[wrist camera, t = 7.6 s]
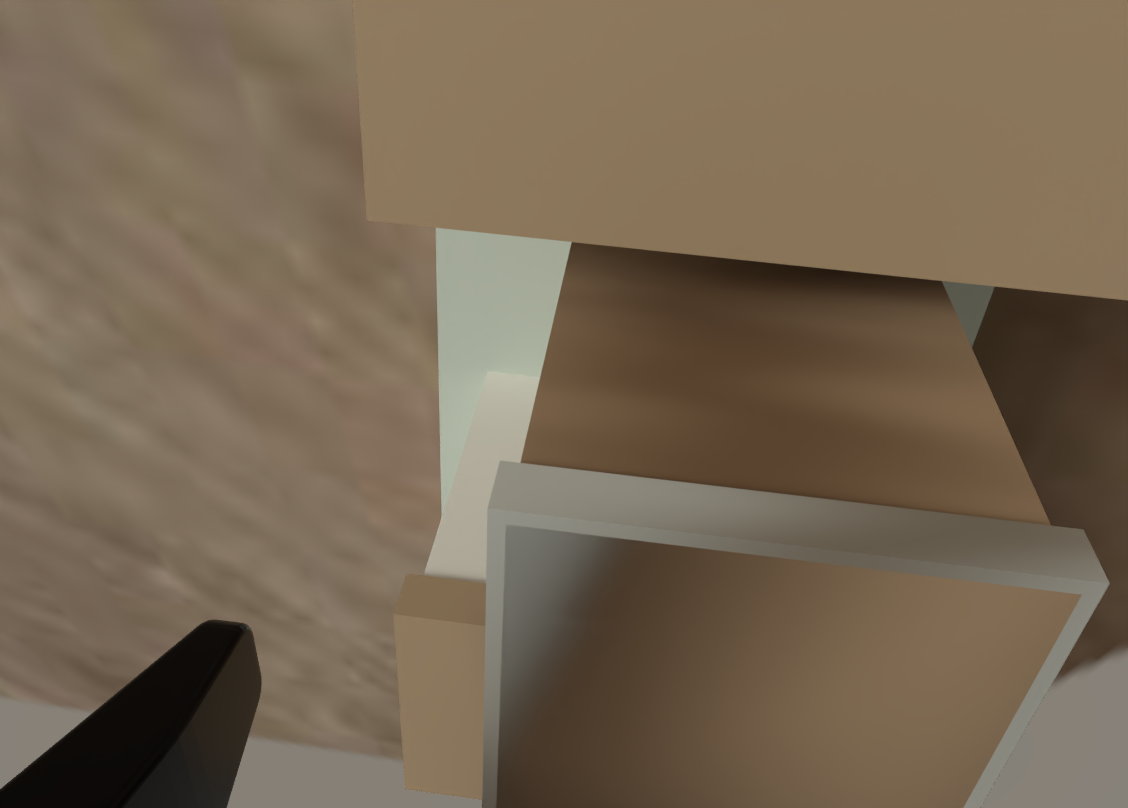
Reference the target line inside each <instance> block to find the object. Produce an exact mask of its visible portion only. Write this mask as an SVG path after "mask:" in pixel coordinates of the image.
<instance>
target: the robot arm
mask: <svg viewBox="0 0 1128 808" xmlns="http://www.w3.org/2000/svg"><path fill="white" fill-rule="evenodd" d="M260 693H261V672H260V667H259V662H258V657H257V652H256V647H255V642H254V637H253V633H252V630H251V629H250V627H249V626H248V625H247V624H244V623H238V622H230V621H222V620H208V621H206V622H204V623H202V624H200V625H199V626H197V627H196V628H195V629H194V630H193V631H191V632H190V633H189V634H188V635H187V636H185V637H184V638H183V639H182V640H181V641H179V642H178V643H177V644H176V645H174V646H173V647H172V648H171V649H170V650H168V651H167V652H166V653H165V654H164V655H162V656H161V657H160V658H159V659H157V660H156V661H155V662H154V663H153V664H151V665H150V666H149V667H148V668H147V669H145V670H144V671H143V672H142V673H141V674H139V675H138V676H137V677H136V678H134V679H133V680H132V681H131V682H130V683H128V684H127V685H126V686H125V687H124V688H122V689H121V690H120V691H119V692H117V693H116V694H115V695H114V696H113V697H111V698H110V699H109V700H108V701H107V702H105V703H104V704H103V705H102V706H101V707H99V708H98V709H97V710H96V711H94V712H93V713H92V714H91V715H90V716H88V717H87V718H86V719H85V720H84V721H82V722H81V723H80V724H79V725H78V726H76V727H75V728H74V729H73V730H71V731H70V732H69V733H68V734H67V735H65V736H64V737H63V738H62V739H61V740H59V741H58V742H57V743H56V744H54V745H53V746H52V747H51V748H50V749H49V750H47V751H46V752H45V753H44V754H42V755H41V756H40V757H39V758H38V759H36V760H35V761H34V762H33V763H31V764H30V765H29V766H28V767H27V768H25V769H24V770H23V771H22V772H21V773H19V774H18V775H17V776H16V777H14V778H13V779H12V780H11V781H10V782H8V783H7V784H6V785H5V786H4V787H3V788H1V789H0V808H227V805H228V801H229V798H230V795H231V791H232V788H233V785H234V781H235V778H236V775H237V771H238V768H239V765H240V761H241V758H242V755H243V752H244V748H245V745H246V742H247V739H248V735H249V732H250V729H251V725H252V722H253V719H254V715H255V712H256V709H257V706H258V702H259V698H260Z"/></svg>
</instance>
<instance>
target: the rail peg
mask: <svg viewBox="0 0 1128 808" xmlns="http://www.w3.org/2000/svg"><path fill="white" fill-rule="evenodd" d="M1109 584H1110V583H1109V581H1108V579H1107V577H1106V575H1105V573H1104V571H1103V569H1102V566H1101V564H1100V562H1099V560H1098V558H1097V556H1096V554H1095V552H1094V550H1093V548H1092V546H1091V544H1090V542H1089V540H1088V538H1087V536H1086V534H1085V531H1084V529H1075V528H1067V527H1059V526H1051V524H1050V522H1049V519H1048V517H1047V515H1046V513H1045V511H1044V508H1043V506H1042V504H1041V502H1040V499H1039V497H1038V495H1037V493H1036V490H1035V488H1034V486H1033V484H1032V481H1031V479H1030V477H1029V475H1028V473H1027V470H1026V468H1025V466H1024V464H1023V461H1022V459H1021V457H1020V455H1019V452H1018V450H1017V448H1016V446H1015V443H1014V441H1013V439H1012V437H1011V435H1010V432H1009V430H1008V428H1007V426H1006V423H1005V421H1004V419H1003V417H1002V414H1001V412H1000V410H999V408H998V406H997V403H996V401H995V399H994V397H993V394H992V392H991V390H990V388H989V385H988V383H987V381H986V379H985V376H984V374H983V372H982V370H981V368H980V365H979V363H978V361H977V359H976V356H975V354H974V352H973V350H972V347H971V345H970V343H969V341H968V338H967V336H966V334H965V332H964V330H963V327H962V325H961V323H960V321H959V318H958V316H957V314H956V312H955V309H954V307H953V305H952V303H951V300H950V298H949V296H948V294H947V292H946V289H945V287H944V285H943V283H942V281H938V280H928V279H919V278H909V277H900V276H890V275H881V274H871V273H862V272H852V271H843V270H833V269H824V268H814V267H805V266H795V265H786V264H776V263H767V262H757V261H748V260H738V259H729V258H719V257H710V256H700V255H690V254H681V253H671V252H662V251H652V250H643V249H633V248H624V247H614V246H605V245H595V244H586V243H576V242H572V243H571V247H570V251H569V256H568V260H567V264H566V268H565V273H564V277H563V281H562V286H561V290H560V294H559V298H558V303H557V307H556V311H555V316H554V320H553V324H552V329H551V333H550V337H549V341H548V346H547V350H546V354H545V359H544V363H543V367H542V371H541V376H540V380H539V384H538V389H537V393H536V397H535V402H534V406H533V410H532V414H531V419H530V423H529V427H528V432H527V436H526V440H525V444H524V449H523V453H522V457H521V462H520V463H517V462H509V461H500V462H499V466H498V470H497V474H496V478H495V482H494V485H493V489H492V493H491V497H490V501H489V505H488V511H487V566H486V621H485V676H484V731H483V786H482V808H981V806H982V804H983V803H984V801H985V799H986V797H987V796H988V794H989V792H990V790H991V789H992V787H993V785H994V784H995V782H996V780H997V778H998V777H999V775H1000V773H1001V771H1002V770H1003V768H1004V766H1005V764H1006V763H1007V761H1008V759H1009V757H1010V756H1011V754H1012V752H1013V751H1014V749H1015V747H1016V745H1017V743H1018V742H1019V740H1020V738H1021V737H1022V735H1023V733H1024V731H1025V730H1026V728H1027V726H1028V725H1029V723H1030V721H1031V719H1032V717H1033V716H1034V714H1035V712H1036V711H1037V709H1038V707H1039V706H1040V704H1041V702H1042V700H1043V699H1044V697H1045V695H1046V693H1047V692H1048V690H1049V688H1050V686H1051V685H1052V683H1053V681H1054V680H1055V678H1056V676H1057V674H1058V673H1059V671H1060V669H1061V667H1062V666H1063V664H1064V662H1065V660H1066V659H1067V657H1068V655H1069V653H1070V652H1071V650H1072V648H1073V647H1074V645H1075V643H1076V641H1077V640H1078V638H1079V636H1080V634H1081V633H1082V631H1083V629H1084V627H1085V626H1086V624H1087V622H1088V621H1089V619H1090V617H1091V615H1092V614H1093V612H1094V610H1095V608H1096V607H1097V605H1098V603H1099V601H1100V600H1101V598H1102V596H1103V595H1104V593H1105V591H1106V589H1107V588H1108V586H1109Z"/></svg>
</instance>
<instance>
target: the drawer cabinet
mask: <svg viewBox="0 0 1128 808" xmlns="http://www.w3.org/2000/svg"><path fill="white" fill-rule="evenodd" d="M352 5H353V20H354V35H355V50H356V65H357V80H358V95H359V109H360V124H361V139H362V154H363V169H364V184H365V199H366V214H367V221H376V222H386V223H395V224H405V225H414V226H424V227H434V228H436V265H437V313H438V361H439V409H440V457H441V505H442V518H441V522H440V525H439V528H438V531H437V534H436V537H435V541H434V544H433V547H432V550H431V553H430V556H429V560H428V563H427V566H426V569H425V572H424V575H423V576H422V575H414V574H407V575H406V578H405V581H404V584H403V587H402V590H401V593H400V596H399V599H398V602H397V605H396V608H395V611H394V614H393V615H394V630H395V645H396V660H397V675H398V690H399V704H400V719H401V734H402V749H403V764H404V777H405V778H404V779H405V789H408V790H416V791H423V792H430V793H437V794H444V795H452V796H459V797H466V798H474V799H481V800H482V786H483V731H484V676H485V621H486V566H487V511H488V505H489V501H490V497H491V493H492V489H493V485H494V482H495V478H496V474H497V470H498V466H499V462H500V461H509V462H517V463H520V462H521V457H522V453H523V449H524V444H525V440H526V436H527V432H528V427H529V423H530V419H531V414H532V410H533V406H534V402H535V397H536V393H537V389H538V384H539V380H540V376H541V371H542V367H543V363H544V359H545V354H546V350H547V346H548V341H549V337H550V333H551V329H552V324H553V320H554V316H555V311H556V307H557V303H558V298H559V294H560V290H561V286H562V281H563V277H564V273H565V268H566V264H567V260H568V256H569V251H570V247H571V243H572V242H576V243H586V244H595V245H605V246H614V247H624V248H633V249H643V250H652V251H662V252H671V253H681V254H690V255H700V256H710V257H719V258H729V259H738V260H748V261H757V262H767V263H776V264H786V265H795V266H805V267H814V268H824V269H833V270H843V271H852V272H862V273H871V274H881V275H890V276H900V277H909V278H919V279H928V280H938V281H942V283H943V285H944V287H945V289H946V292H947V294H948V296H949V298H950V300H951V303H952V305H953V307H954V309H955V312H956V314H957V316H958V318H959V321H960V323H961V325H962V327H963V330H964V332H965V334H966V336H967V338H968V341H969V343H970V345H971V347H972V346H973V344H974V341H975V338H976V336H977V333H978V330H979V328H980V325H981V322H982V319H983V317H984V314H985V311H986V309H987V306H988V303H989V301H990V298H991V295H992V293H993V290H994V287H1005V288H1014V289H1024V290H1033V291H1043V292H1052V293H1062V294H1071V295H1081V296H1090V297H1100V298H1109V299H1119V300H1128V0H352Z"/></svg>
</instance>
